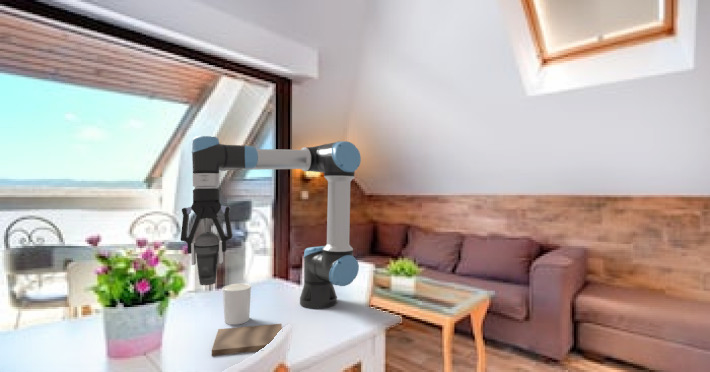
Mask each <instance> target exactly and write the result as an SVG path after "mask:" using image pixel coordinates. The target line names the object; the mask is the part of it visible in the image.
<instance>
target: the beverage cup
mask: <svg viewBox="0 0 710 372" xmlns="http://www.w3.org/2000/svg"><path fill="white" fill-rule="evenodd" d="M203 228H204V232H202V233H199V235H198V236H197V237H196V239H195V241H194V242H195V245H194V247H195V252H196V264H197V270H198V271H197V273H198V279H199V285H200V286H212V285H214V284H216V282H217V275H218V272H217V271H218V263H219V241H220V239H219V237H218V236H217V235H216V234H215V233H214V232H212V231H211V232H210V231H207V221H206V218H205V219H203Z"/></svg>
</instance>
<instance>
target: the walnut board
mask: <svg viewBox="0 0 710 372" xmlns="http://www.w3.org/2000/svg"><path fill="white" fill-rule="evenodd" d="M281 329H282V330H283V325H282V323H275V324H274V323H273V324H264V325H252V326H251V325H250V326H240V327H239V326H238V327H229V328H218V329H217V333H216V336H215V339H214V341H213V345H212V347H211V356H219V355H220V356H222V355H230V354H232V355H233V354H239V353H240V354H241V353H250V352H252V353H253V352H259V351H258V350H260V349H262V348H264V347H265V346H266V345H267V344H269V343H270V342H271V341H272V340H273V339H274V337H275V336H276V335H277V333H278V332H279V331H280V330H281Z"/></svg>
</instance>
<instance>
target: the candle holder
mask: <svg viewBox="0 0 710 372" xmlns="http://www.w3.org/2000/svg"><path fill="white" fill-rule="evenodd" d="M221 289H222V299H223V301H222V302H223V314H224V319H223V320H224V323H225V324H227V325H231V326H235V325H242V324H245V323H247V322H248V321H250V312H251V298H252V297H251V295H252V294H251V293H252V285H251V284H249V283H239V282H238V283H230V284H226V285H224V286H223V287H222V288H221Z"/></svg>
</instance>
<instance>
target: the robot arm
mask: <svg viewBox="0 0 710 372" xmlns="http://www.w3.org/2000/svg"><path fill="white" fill-rule="evenodd" d="M191 145H192V147H191V155H192V156H191V157H192V158H191V159H192V188H193V187H194V188H193V189H192V205H191V206H188V207H183V208H182V209H181V213H182V223H181V230H180V232H181V233H180V241H181V242H185V243H186V244H187V254H188V255H189V254H190V255H191V259H190V260H191V262H190V263H191V266H195V265H196V264H197V256H196V252H195V247H194V245H195V241H194V239H195V236H196V234H197V231H198V228H199V226H200V223H201V221H202V219H203V220H204V219H205V220H206V219H209V220H210V219H211V220H212V222H213V223H214V226H215V229H216V230H217V233H218V236H219V237H220V239H221V240H219V251H218V263H219V264H223V262H224V253H226V252H227V241H228V240H231V239H232V238H233V230H232V223H231V222H232V221H231V218H230V216H231V215H230V212H231V206H230V205H229V206H225V205H222V204H221V200H220V198H221V197H220V196H221V195H220V193H221V192H220V190H221V189H220V188H218V187H220V171H221V172H226V171H242V170H243V171H244V170H245V171H248V170H249V171H251V170H253V171H254V170H257V171H258V170H301V171H302V172H313V173H314V172H315V173H316V172H317V173H323V177H324V179H325V180H326V181H327V210H326V211H327V212H326V213H327V215H326V218H327V220H326V222H327V223H326V244H325V245H321V246H311V247H307V248H305V249H304V253H303V254H304V255H303V279H304V281H303V287H302V289H301V290H302V291H301V294H300V297H299V305H300V306H301V307H303V308H308V309H327V308H331V307H333V306H335V305H337V303H338V296H337V294H336V290H335V287H334V286H339V287H347V286H349V285H351V284H352V283H353V282H354V281H355V280H356V278H357V276H358V274H359V262H358V260H357V259H356V257H354V248H353V247H352V246H351V245H350V227H351V226H350V221H351V220H350V219H351V217H350V215H351V212H350V211H351V182H352V181H353V180H354V179H355V172H356V170H358V168H359V167H360V166H361V161H362V157H361V153H360V151H359V149H358V148H357V146H356V145H355V144H354V143H353V142H350V141H347V140H346V141H343V140H342V141H340V140H339V141H336V142H330V143H324V144H320V145H316V146H315V145H314V146H310V147H307V146H306V147H305V146H303V147H302V148H301V149H284V148H283V149H276V148H275V149H274V148H273V149H271V148H269V149H268V148H265V149H263V148H256V147H255V146H253V145H247V144H244V145H243V144H242V145H241V144H239V145H236V144H224V143H223V144H222V143H220V142H219V138H218V137H216V136H209V135H207V136H206V135H199V136H195V137H193V139H192V144H191ZM192 211H193V213H194V214H195V218H194V221H193V224H192V227H191V229H190V233H189V234H188V230H189V220H190V214H191V213H192ZM220 211H221V212H222V214H224V215H223V216H224V222H225V229H226V234H225V231H224V229H223V227H222V225H221V222H220V220H219V217H218V214H219V212H220Z"/></svg>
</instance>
